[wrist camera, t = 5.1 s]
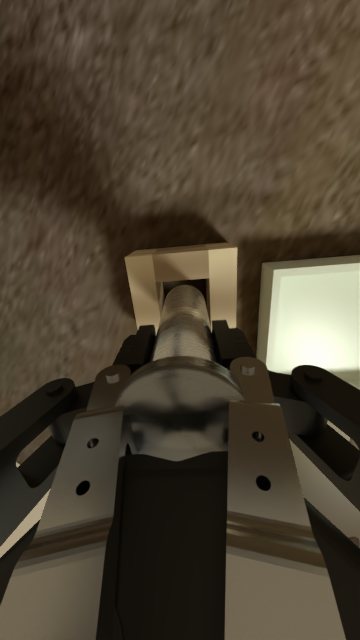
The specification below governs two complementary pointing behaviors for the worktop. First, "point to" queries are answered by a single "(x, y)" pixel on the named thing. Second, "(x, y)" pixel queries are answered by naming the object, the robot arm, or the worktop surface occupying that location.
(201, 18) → the worktop surface
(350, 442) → the lumpy-topped squat cylinder
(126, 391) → the pin
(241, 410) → the robot arm
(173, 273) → the frame
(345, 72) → the worktop surface
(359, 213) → the worktop surface
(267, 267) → the parts tray
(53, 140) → the worktop surface
